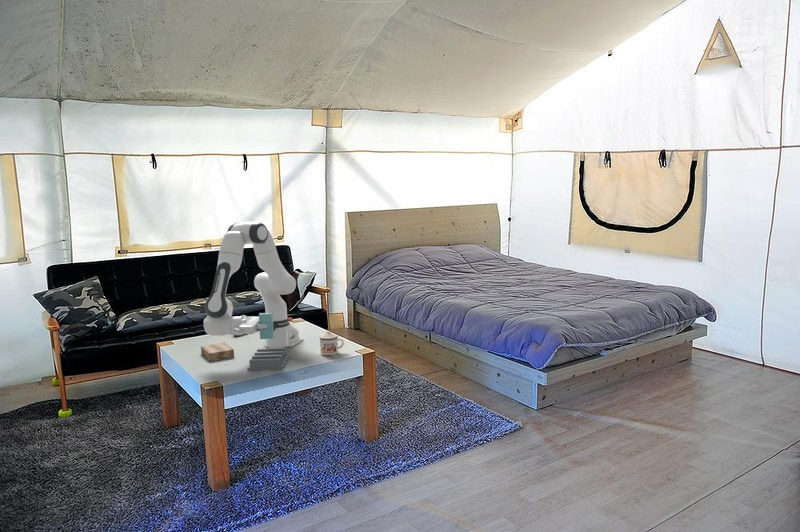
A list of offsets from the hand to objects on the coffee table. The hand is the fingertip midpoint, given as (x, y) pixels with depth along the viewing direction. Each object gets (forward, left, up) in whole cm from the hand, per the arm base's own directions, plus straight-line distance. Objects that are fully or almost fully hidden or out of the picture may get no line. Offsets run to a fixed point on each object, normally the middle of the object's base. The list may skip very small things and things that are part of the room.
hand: (268, 324), depth 278 cm
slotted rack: (0, -1, -19) cm, 19 cm away
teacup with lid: (-26, +18, -19) cm, 37 cm away
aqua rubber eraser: (0, -1, -7) cm, 7 cm away
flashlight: (-42, -52, -20) cm, 69 cm away
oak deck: (0, -34, -19) cm, 39 cm away
